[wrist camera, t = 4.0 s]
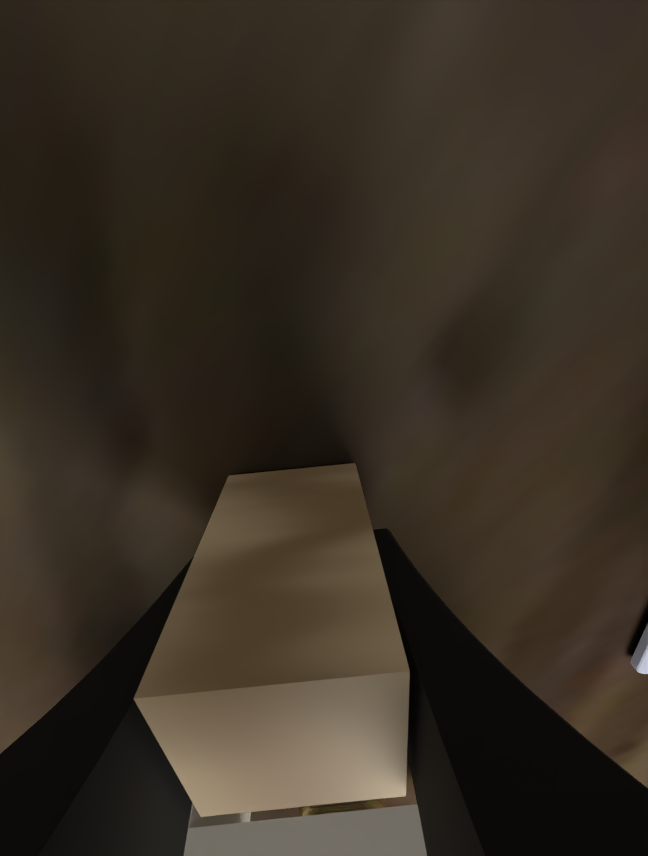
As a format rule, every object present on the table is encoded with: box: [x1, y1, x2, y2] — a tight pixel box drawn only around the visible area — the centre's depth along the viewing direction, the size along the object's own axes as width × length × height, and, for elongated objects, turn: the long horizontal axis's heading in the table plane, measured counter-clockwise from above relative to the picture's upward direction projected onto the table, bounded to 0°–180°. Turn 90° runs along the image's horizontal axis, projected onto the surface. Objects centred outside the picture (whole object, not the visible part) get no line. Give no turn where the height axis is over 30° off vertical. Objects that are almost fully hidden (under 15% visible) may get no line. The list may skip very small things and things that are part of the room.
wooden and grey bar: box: [134, 463, 410, 817], centre depth 11 cm, size 4×20×6 cm, turn 5°
